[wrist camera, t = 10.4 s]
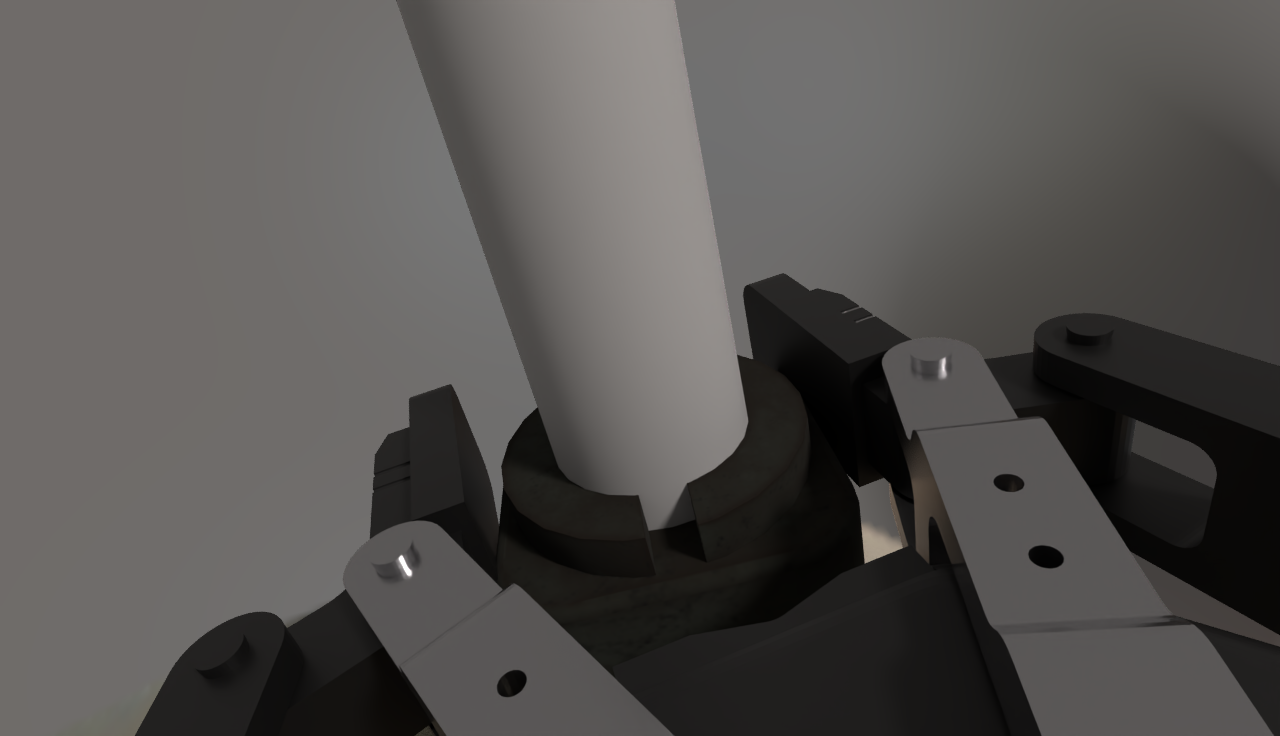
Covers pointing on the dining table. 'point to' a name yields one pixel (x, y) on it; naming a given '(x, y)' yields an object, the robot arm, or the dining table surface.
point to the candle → (624, 334)
